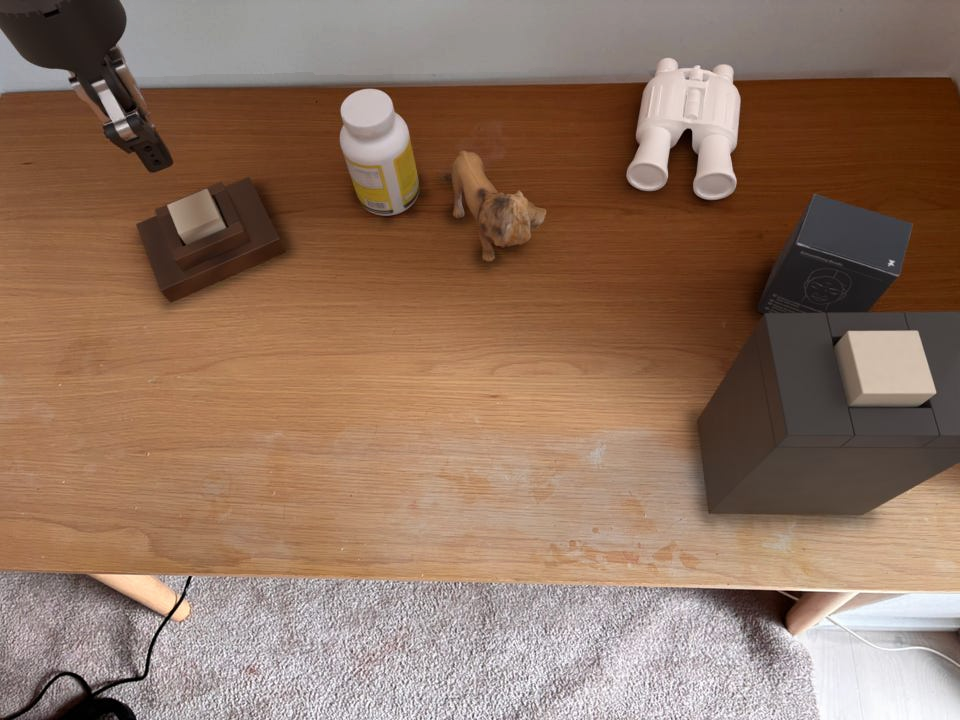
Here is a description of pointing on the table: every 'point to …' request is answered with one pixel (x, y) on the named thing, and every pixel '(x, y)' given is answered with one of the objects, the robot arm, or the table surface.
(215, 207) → the key far
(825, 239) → the box
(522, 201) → the lion figurine
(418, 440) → the table surface
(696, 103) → the binoculars
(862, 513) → the dark block with slot
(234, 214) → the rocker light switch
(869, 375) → the key near
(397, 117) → the pill bottle
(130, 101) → the robot arm
